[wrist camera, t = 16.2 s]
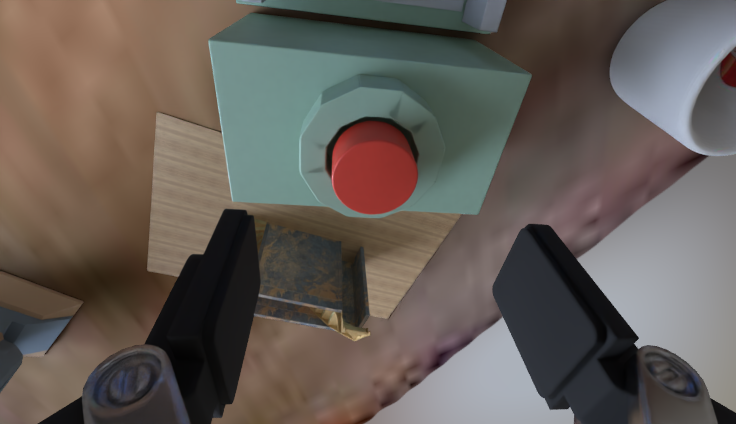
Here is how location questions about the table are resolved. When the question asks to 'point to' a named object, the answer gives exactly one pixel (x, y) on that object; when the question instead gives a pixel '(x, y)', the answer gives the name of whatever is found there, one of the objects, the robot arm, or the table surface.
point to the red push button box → (359, 108)
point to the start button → (373, 168)
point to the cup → (683, 72)
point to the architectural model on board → (287, 239)
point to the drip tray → (405, 11)
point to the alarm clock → (29, 321)
